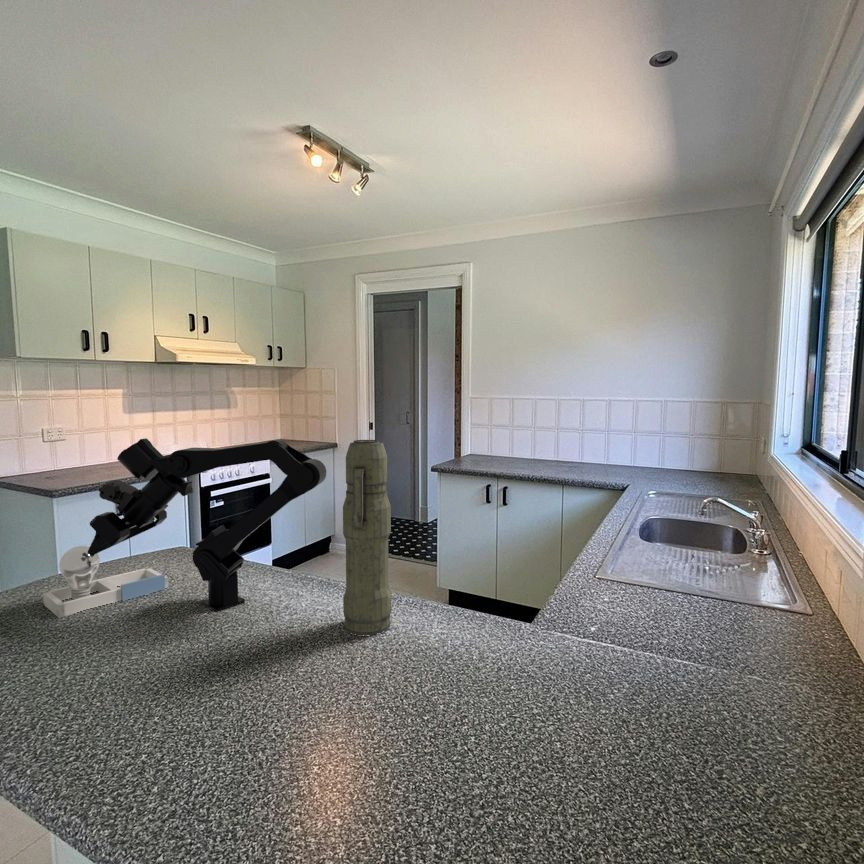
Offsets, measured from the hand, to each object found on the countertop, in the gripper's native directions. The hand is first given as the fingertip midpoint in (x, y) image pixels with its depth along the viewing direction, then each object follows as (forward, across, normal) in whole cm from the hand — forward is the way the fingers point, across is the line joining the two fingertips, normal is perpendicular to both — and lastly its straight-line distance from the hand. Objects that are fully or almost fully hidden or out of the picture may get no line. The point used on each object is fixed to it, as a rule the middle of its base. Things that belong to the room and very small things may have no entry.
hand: (104, 547), depth 107 cm
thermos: (-31, +11, +48) cm, 58 cm away
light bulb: (+12, 0, +5) cm, 13 cm away
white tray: (+10, -4, +7) cm, 13 cm away
